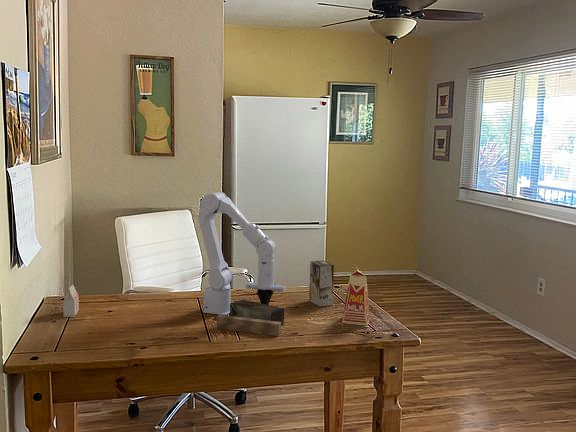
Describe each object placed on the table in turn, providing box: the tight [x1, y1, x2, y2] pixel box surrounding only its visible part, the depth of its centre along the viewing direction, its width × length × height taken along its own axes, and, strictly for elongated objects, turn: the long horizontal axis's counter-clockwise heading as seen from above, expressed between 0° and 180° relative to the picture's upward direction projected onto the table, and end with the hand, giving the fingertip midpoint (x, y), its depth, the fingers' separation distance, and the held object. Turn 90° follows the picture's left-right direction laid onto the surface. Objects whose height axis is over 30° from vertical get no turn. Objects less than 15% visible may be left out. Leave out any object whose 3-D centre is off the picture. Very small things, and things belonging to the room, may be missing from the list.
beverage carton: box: [228, 298, 286, 326], centre depth 205 cm, size 8×19×7 cm, turn 55°
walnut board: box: [216, 314, 282, 337], centre depth 195 cm, size 22×2×4 cm, turn 73°
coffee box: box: [308, 260, 335, 307], centre depth 230 cm, size 9×6×16 cm
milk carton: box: [341, 267, 370, 327], centre depth 208 cm, size 9×9×20 cm
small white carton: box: [62, 284, 80, 318], centre depth 208 cm, size 4×7×10 cm, turn 8°
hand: (264, 309), depth 211 cm, fingers closed
